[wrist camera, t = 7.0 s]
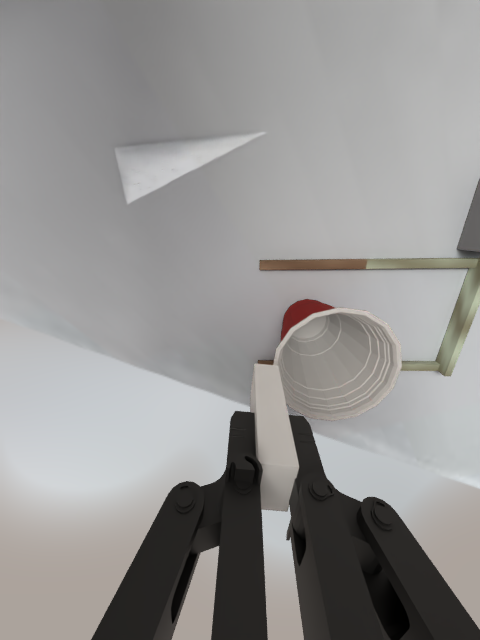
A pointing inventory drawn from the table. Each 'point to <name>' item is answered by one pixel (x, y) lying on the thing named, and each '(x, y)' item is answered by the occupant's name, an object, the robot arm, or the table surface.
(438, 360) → the u-shaped frame
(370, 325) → the plastic cup
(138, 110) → the table surface
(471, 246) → the dome housing
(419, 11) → the table surface
